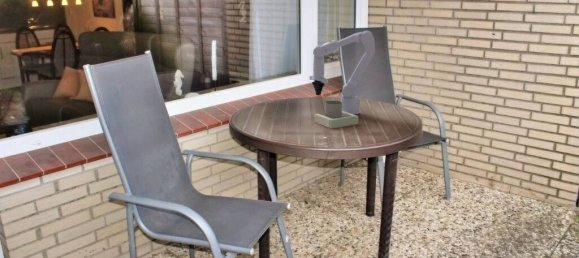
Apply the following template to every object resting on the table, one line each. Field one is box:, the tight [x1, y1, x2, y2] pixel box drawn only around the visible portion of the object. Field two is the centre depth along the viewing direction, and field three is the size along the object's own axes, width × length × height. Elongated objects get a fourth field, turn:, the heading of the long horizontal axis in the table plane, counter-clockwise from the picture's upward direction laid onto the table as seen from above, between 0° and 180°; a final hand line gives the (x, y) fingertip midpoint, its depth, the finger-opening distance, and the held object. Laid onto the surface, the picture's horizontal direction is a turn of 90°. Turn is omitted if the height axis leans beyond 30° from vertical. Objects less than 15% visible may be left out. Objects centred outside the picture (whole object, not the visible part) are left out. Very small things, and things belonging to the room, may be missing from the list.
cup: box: [324, 100, 342, 119], centre depth 237 cm, size 8×8×10 cm
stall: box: [314, 111, 359, 130], centre depth 236 cm, size 16×14×4 cm
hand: (318, 95), depth 255 cm, fingers closed
